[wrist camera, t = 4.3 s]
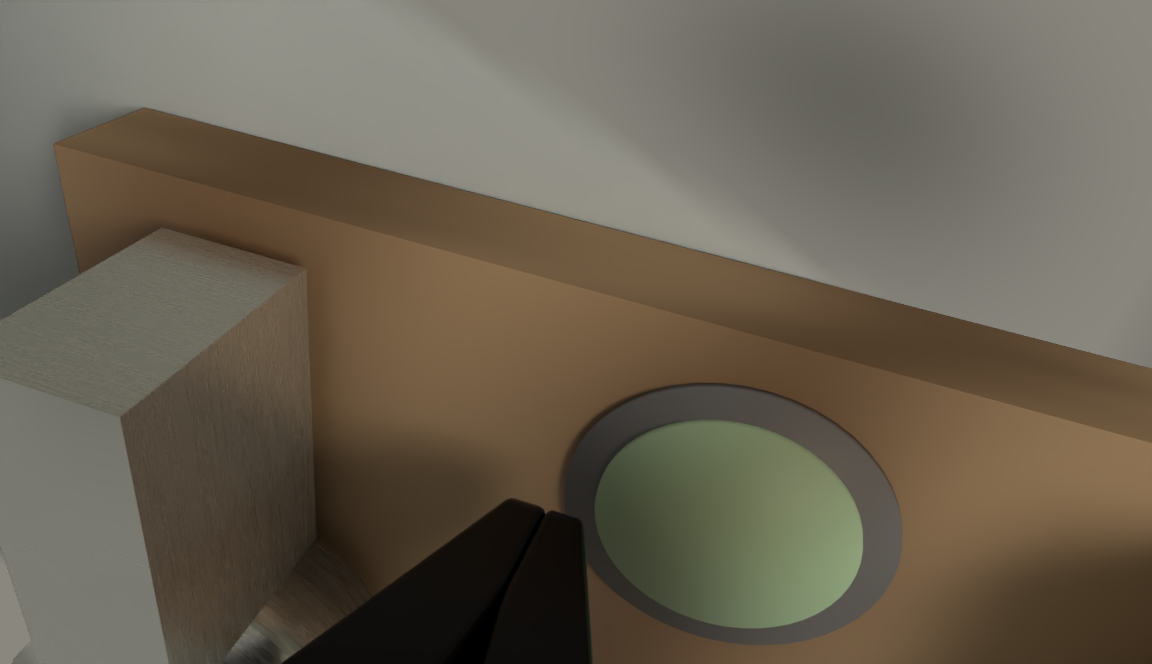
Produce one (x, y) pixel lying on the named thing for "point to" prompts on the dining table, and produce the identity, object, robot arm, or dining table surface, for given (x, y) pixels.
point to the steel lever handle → (165, 463)
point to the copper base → (671, 418)
